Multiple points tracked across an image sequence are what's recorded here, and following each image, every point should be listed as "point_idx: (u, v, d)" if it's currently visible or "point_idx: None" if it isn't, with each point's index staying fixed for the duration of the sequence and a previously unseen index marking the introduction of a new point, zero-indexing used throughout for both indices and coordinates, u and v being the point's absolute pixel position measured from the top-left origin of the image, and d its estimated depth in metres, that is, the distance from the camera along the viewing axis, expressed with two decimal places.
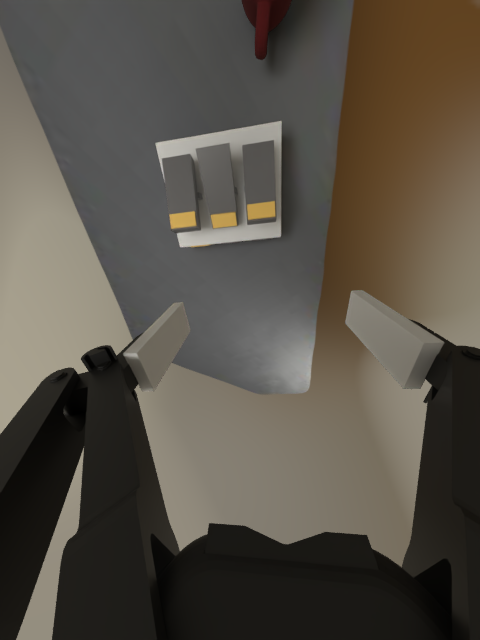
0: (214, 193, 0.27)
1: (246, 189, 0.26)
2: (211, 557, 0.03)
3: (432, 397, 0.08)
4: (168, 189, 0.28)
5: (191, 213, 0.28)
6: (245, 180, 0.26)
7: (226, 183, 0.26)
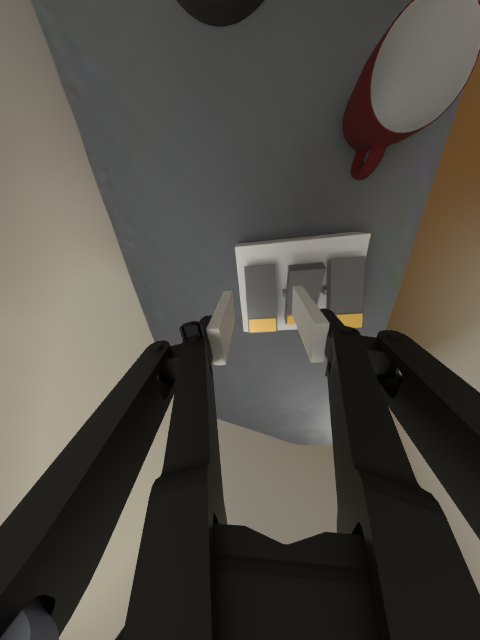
0: None
1: (332, 300, 0.26)
2: (211, 557, 0.03)
3: (329, 371, 0.09)
4: (249, 295, 0.27)
5: (272, 320, 0.27)
6: (331, 291, 0.26)
7: (312, 294, 0.26)
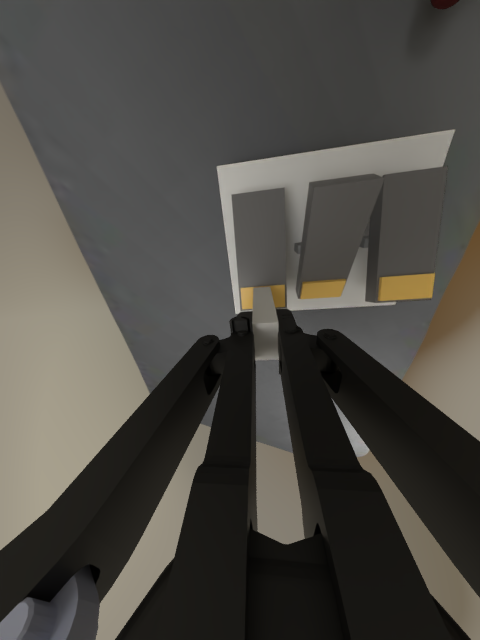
0: (320, 255, 0.16)
1: (382, 251, 0.15)
2: (211, 557, 0.03)
3: (281, 370, 0.10)
4: (240, 247, 0.16)
5: (278, 288, 0.16)
6: (382, 236, 0.15)
7: (348, 241, 0.15)
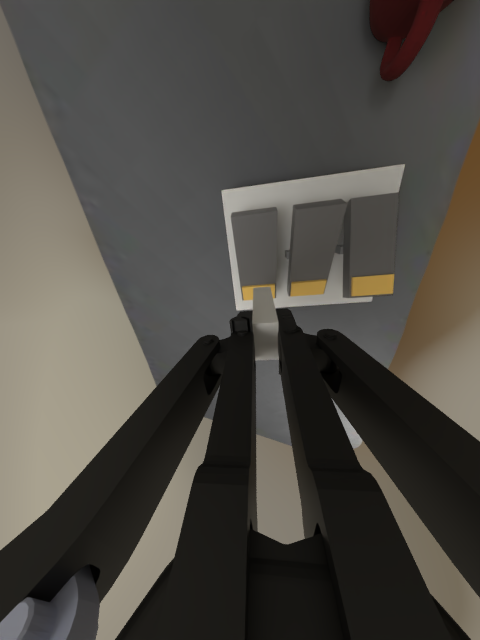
0: (304, 260, 0.20)
1: (352, 256, 0.19)
2: (211, 557, 0.03)
3: (281, 370, 0.10)
4: (240, 258, 0.20)
5: (270, 287, 0.22)
6: (352, 245, 0.19)
7: (325, 249, 0.19)
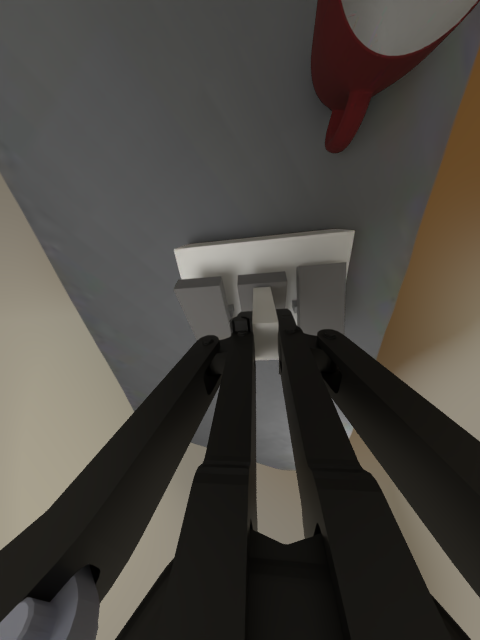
0: None
1: (302, 322, 0.19)
2: (211, 557, 0.03)
3: (281, 370, 0.10)
4: (191, 320, 0.20)
5: None
6: (301, 310, 0.19)
7: None
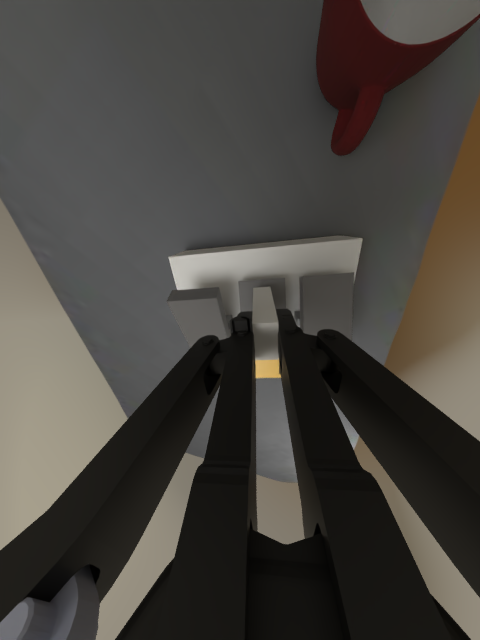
0: None
1: None
2: (211, 557, 0.03)
3: (281, 370, 0.10)
4: (187, 333, 0.18)
5: None
6: (305, 324, 0.17)
7: None
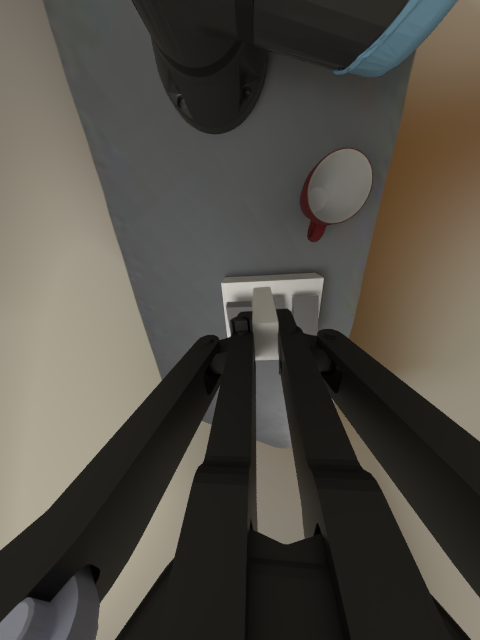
0: None
1: None
2: (211, 557, 0.03)
3: (281, 370, 0.10)
4: None
5: None
6: None
7: None
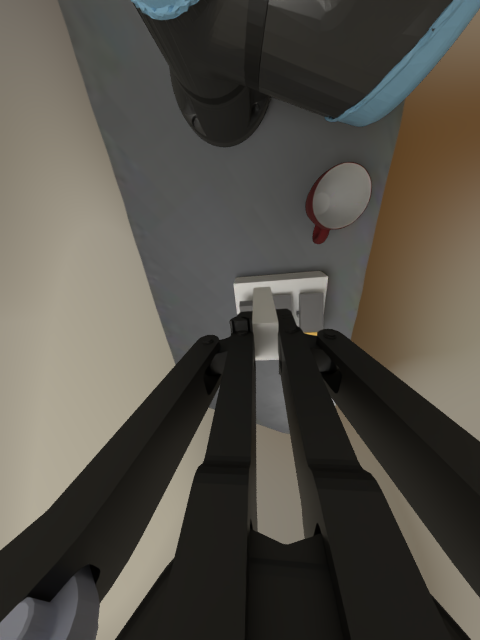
0: None
1: (302, 322, 0.37)
2: (211, 557, 0.03)
3: (281, 370, 0.10)
4: None
5: None
6: (301, 316, 0.37)
7: None
